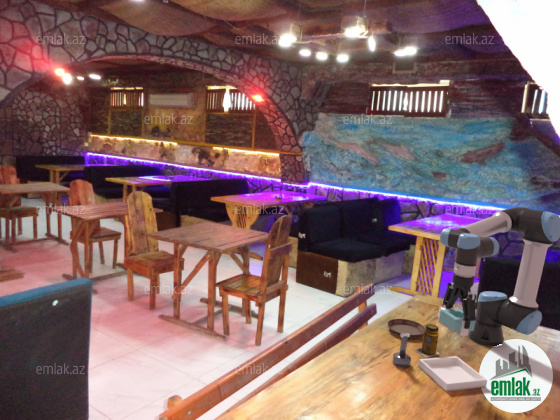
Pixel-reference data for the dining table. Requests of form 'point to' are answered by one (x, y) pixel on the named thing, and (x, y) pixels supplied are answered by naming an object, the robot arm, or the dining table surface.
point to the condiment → (429, 341)
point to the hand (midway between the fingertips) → (455, 329)
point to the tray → (452, 373)
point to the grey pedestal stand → (402, 353)
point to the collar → (454, 319)
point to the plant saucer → (406, 327)
